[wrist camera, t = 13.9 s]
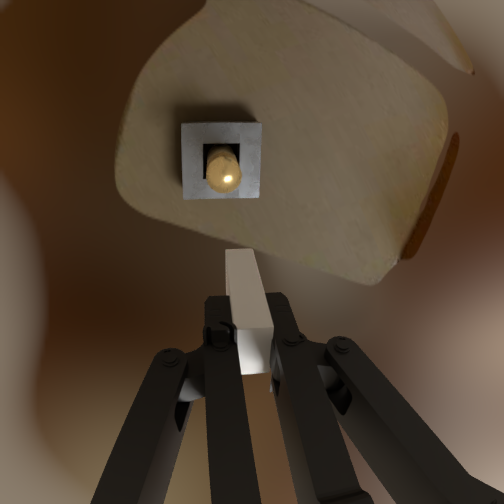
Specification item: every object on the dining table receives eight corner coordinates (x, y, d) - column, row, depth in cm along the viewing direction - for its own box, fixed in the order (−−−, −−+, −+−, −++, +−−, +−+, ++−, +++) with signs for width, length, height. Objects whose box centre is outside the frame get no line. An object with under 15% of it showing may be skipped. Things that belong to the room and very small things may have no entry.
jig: (183, 121, 46) (181, 123, 42) (257, 121, 48) (261, 123, 44) (185, 191, 52) (183, 199, 48) (255, 189, 53) (258, 197, 49)
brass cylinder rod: (207, 143, 48) (205, 159, 36) (234, 143, 49) (242, 158, 37) (207, 169, 50) (206, 193, 38) (233, 168, 51) (241, 193, 39)
